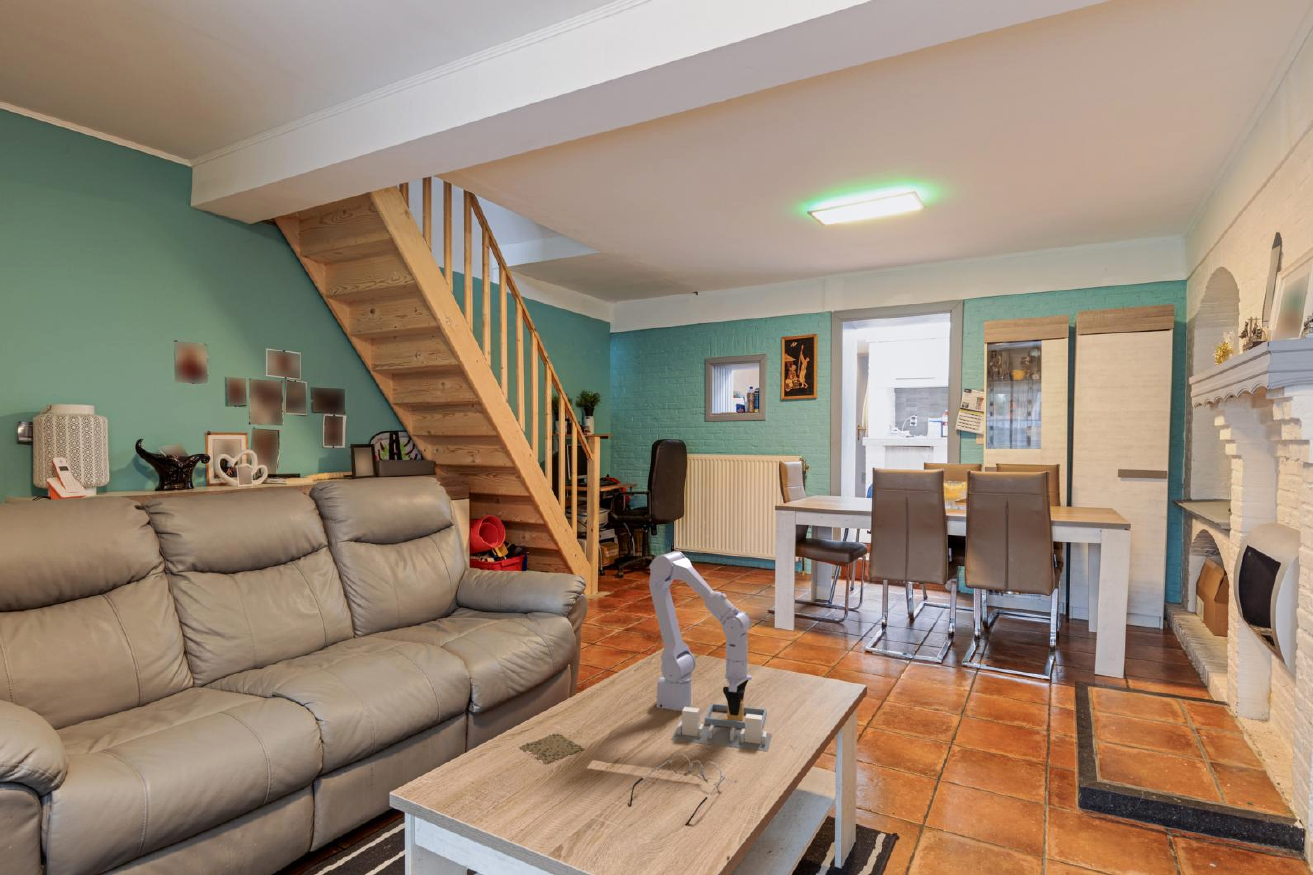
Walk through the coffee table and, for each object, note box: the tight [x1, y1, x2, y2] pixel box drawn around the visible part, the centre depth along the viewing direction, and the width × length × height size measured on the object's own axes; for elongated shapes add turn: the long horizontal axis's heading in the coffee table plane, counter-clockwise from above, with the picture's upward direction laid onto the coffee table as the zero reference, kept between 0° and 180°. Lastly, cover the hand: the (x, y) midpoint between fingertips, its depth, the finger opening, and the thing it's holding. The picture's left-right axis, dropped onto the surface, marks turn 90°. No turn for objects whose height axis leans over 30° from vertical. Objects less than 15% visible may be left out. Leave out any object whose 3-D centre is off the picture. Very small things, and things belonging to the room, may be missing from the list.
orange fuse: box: [726, 698, 745, 722], centre depth 185 cm, size 4×3×6 cm, turn 76°
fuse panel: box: [670, 720, 773, 753], centre depth 174 cm, size 24×10×4 cm, turn 75°
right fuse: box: [744, 714, 763, 744], centre depth 172 cm, size 4×3×6 cm, turn 76°
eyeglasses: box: [629, 753, 726, 826], centre depth 149 cm, size 16×19×5 cm
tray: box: [704, 703, 767, 732], centre depth 185 cm, size 15×10×3 cm
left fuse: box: [681, 706, 701, 736], centre depth 176 cm, size 4×3×6 cm, turn 76°
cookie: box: [518, 733, 585, 766], centre depth 170 cm, size 12×12×1 cm
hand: (736, 709), depth 185 cm, fingers open, 7 cm apart
